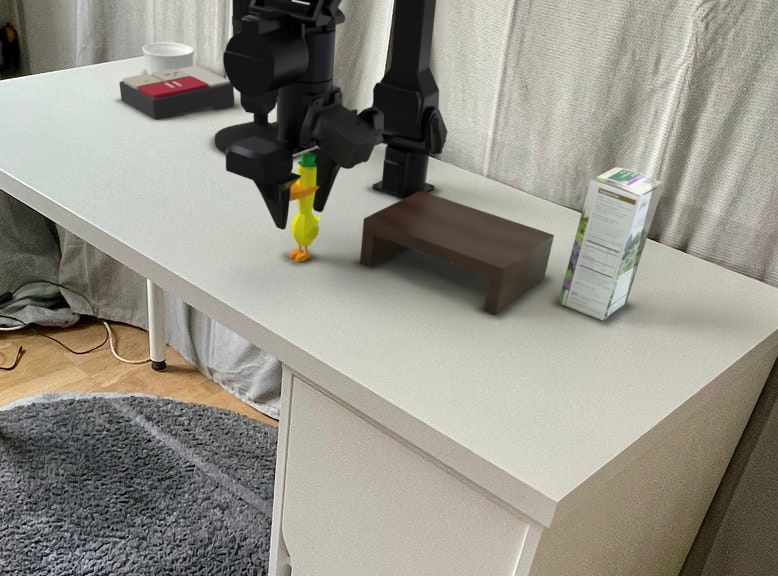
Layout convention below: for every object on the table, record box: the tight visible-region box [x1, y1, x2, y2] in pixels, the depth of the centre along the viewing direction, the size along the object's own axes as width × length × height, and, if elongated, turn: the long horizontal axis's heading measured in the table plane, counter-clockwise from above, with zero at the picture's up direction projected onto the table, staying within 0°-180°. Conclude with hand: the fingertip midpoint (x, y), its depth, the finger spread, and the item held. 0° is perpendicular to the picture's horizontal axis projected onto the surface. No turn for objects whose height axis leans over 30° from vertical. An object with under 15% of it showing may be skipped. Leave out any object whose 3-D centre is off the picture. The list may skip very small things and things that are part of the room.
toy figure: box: [288, 152, 322, 263], centre depth 100 cm, size 7×4×12 cm, turn 135°
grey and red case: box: [118, 65, 235, 120], centre depth 144 cm, size 11×4×15 cm
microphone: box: [214, 0, 293, 155], centre depth 125 cm, size 14×14×25 cm
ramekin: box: [142, 41, 195, 75], centre depth 157 cm, size 9×9×4 cm
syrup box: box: [558, 166, 664, 321], centre depth 95 cm, size 6×6×14 cm
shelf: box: [359, 191, 555, 316], centre depth 102 cm, size 12×18×6 cm, turn 54°
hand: (299, 219), depth 101 cm, fingers closed on toy figure, 6 cm apart
